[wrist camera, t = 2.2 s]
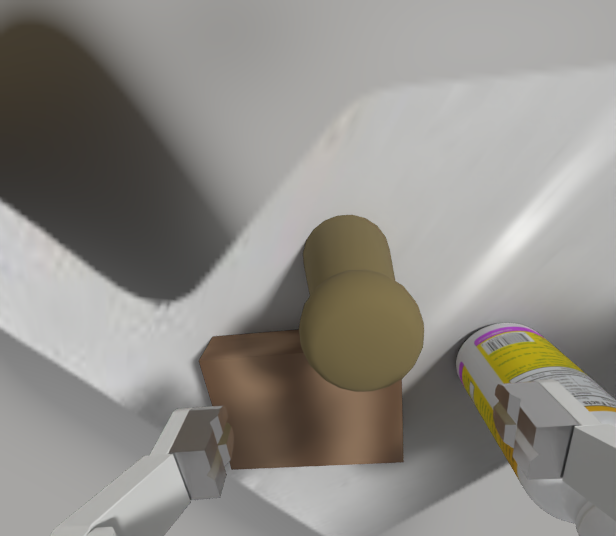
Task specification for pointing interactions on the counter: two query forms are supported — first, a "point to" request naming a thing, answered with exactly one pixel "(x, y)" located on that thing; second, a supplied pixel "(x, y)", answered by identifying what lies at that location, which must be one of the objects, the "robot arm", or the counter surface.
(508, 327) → the supplement bottle
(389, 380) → the cork
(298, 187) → the counter surface
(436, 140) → the counter surface
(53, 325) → the counter surface
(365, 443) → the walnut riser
